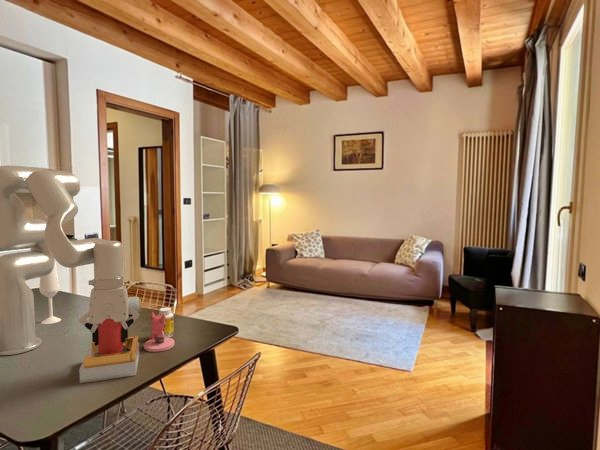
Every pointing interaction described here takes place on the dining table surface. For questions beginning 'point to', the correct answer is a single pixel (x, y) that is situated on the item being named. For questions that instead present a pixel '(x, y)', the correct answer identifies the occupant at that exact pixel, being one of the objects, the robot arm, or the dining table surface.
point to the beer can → (110, 337)
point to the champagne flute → (50, 292)
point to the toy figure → (158, 335)
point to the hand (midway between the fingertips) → (110, 341)
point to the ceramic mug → (135, 303)
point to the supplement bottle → (167, 321)
